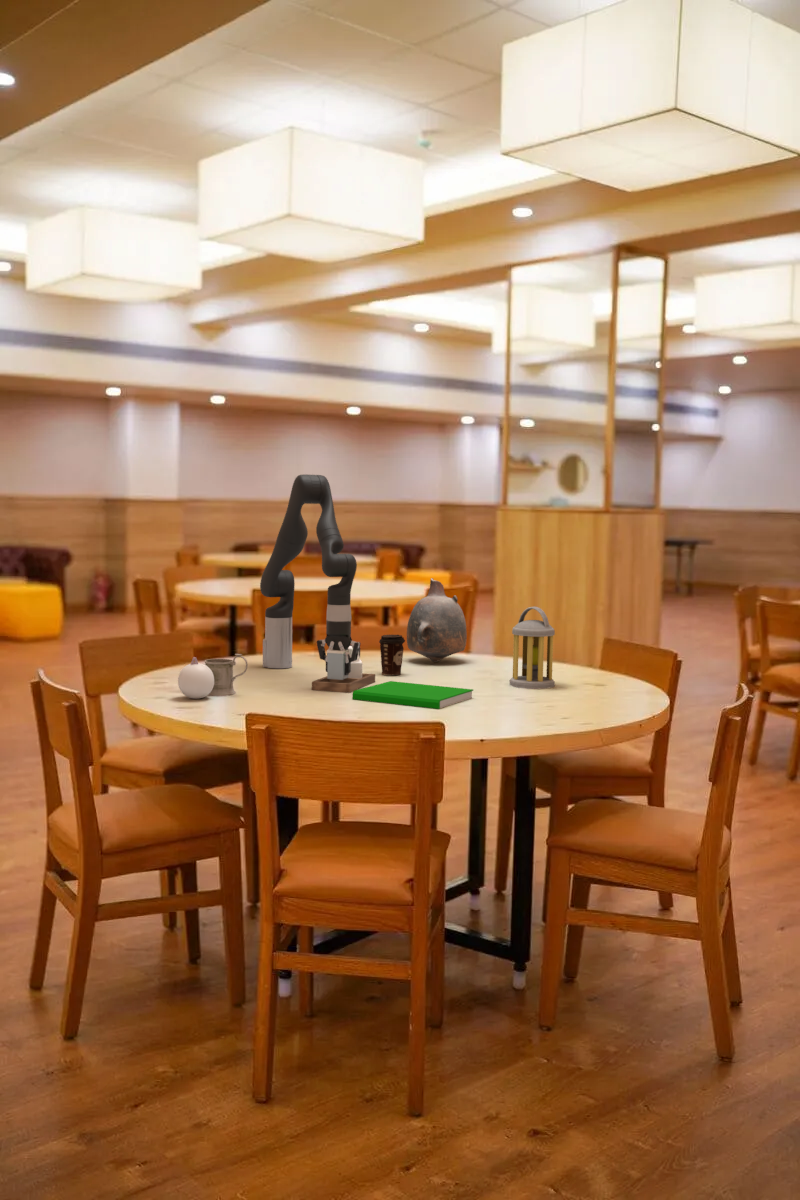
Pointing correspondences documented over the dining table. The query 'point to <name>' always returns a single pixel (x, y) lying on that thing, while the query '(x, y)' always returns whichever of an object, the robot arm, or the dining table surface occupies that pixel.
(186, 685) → the ornament
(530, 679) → the lantern
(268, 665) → the robot arm
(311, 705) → the dining table surface
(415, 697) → the book
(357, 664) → the medicine bottle
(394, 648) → the coffee cup
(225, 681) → the mug
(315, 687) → the brown flat rectangular frame
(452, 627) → the jug
